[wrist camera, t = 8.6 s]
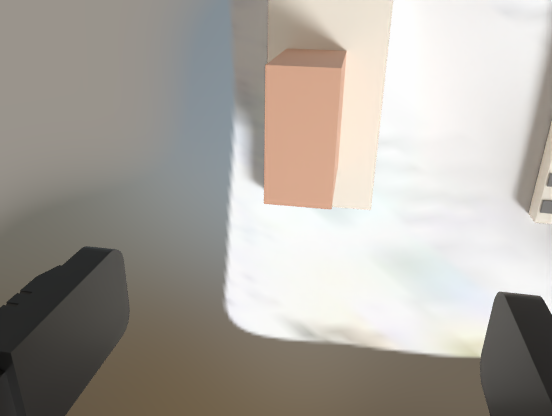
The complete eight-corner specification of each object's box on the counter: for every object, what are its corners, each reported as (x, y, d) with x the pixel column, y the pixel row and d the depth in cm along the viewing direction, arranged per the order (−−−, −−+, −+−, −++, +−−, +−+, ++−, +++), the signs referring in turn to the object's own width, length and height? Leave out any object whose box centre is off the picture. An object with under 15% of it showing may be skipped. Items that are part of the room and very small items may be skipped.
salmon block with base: (392, -4, 24) (402, -1, 18) (370, 201, 29) (372, 263, 22) (272, -6, 25) (240, -5, 19) (269, 193, 30) (242, 250, 23)
